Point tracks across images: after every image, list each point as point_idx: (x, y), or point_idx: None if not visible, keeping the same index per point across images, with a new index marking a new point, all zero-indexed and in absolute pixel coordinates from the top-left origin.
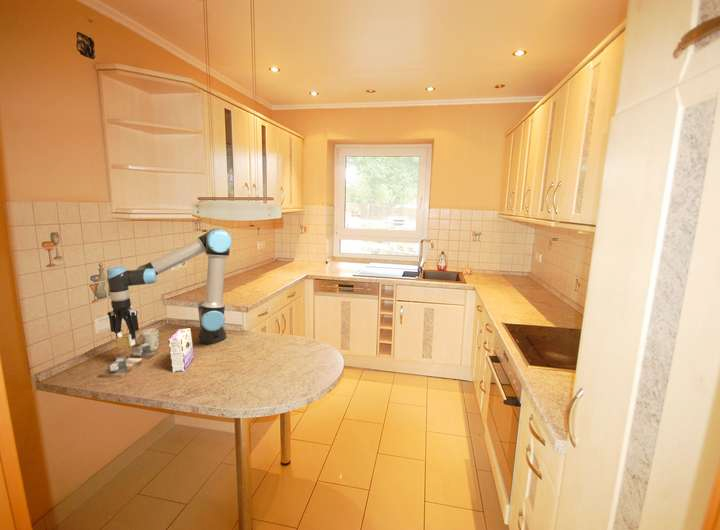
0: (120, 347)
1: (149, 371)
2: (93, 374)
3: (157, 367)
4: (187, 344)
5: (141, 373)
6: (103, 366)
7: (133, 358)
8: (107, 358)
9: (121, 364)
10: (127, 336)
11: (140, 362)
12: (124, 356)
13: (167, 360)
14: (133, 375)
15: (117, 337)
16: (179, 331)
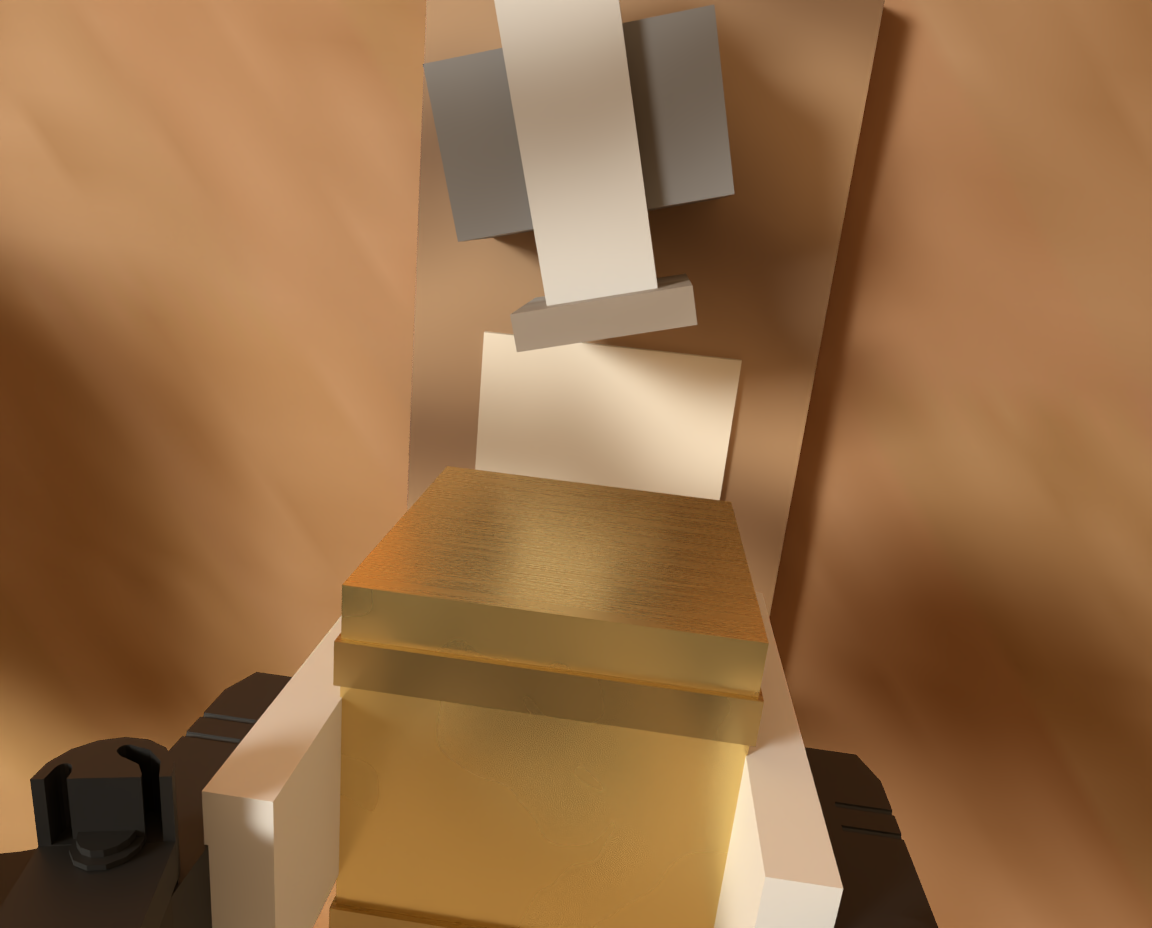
0: (656, 499)
1: (100, 163)
2: (1041, 136)
3: (71, 302)
4: None
5: (182, 96)
6: (1034, 448)
7: None
8: (1137, 744)
9: (443, 63)
10: (441, 774)
11: (410, 457)
12: (535, 347)
13: (87, 535)
14: (269, 27)
15: (838, 792)
16: None
